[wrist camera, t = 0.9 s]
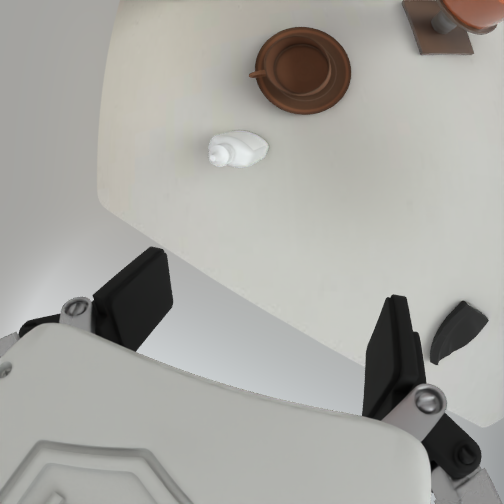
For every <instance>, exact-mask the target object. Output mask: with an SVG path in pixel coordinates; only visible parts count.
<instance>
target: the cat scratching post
mask: <svg viewBox="0 0 504 504" xmlns="http://www.w3.org/2000/svg"><path fill="white" fill-rule="evenodd" d="M402 5H403V7H404V10H405V12H406V15H407V17H408V20H409V22H410V25H411V28H412V30H413V33H414V36H415V39H416V41H417V44H418V47H419V51H420V54H421V55H437V54H456V55H472V54H474V52H473V49H472V46H471V43H470V40H469V37H468V34H467V31H468V32H470V33H473V34H480V35H482V34H487V33H489V32H491V31H493V30H494V29H495V28H496V26H497V24H496V25H494V26H492V27H490V28H488V29H476V28H473V27H470V26H468V25H466V24H465V23H463V22H462V21H460V20H459V19H458V18H456V17H455V16H454V15H453V14H452V13H451V12H450V10H449V9H448V8H447V7H446V5H445V4H444V2H443V0H403V1H402Z"/></svg>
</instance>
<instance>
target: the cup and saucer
mask: <svg viewBox="0 0 504 504" xmlns="http://www.w3.org/2000/svg"><path fill="white" fill-rule="evenodd" d="M249 77H251V78H256V80H257V83H258V85H259V88H260V90H261V91H262V93H263V94H264V96H265V97H266V98H267V99H268V100H269V101H270V102H271V103H272V104H274V105H275V106H277V107H278V108H280V109H282V110H284V111H287V112H290V113H294V114H302V115H308V114H315V113H319V112H322V111H325V110H327V109H329V108H331V107H332V106H334V105H335V104H336V103H337V102H338V101H339V100H340V99H341V98H342V97H343V96H344V94H345V93H346V91H347V89H348V86H349V83H350V79H351V66H350V61H349V58H348V56H347V54H346V52H345V50H344V49H343V47H342V46H341V45H340V44H339V43H338V42H337V41H336V40H335V39H334V38H333V37H331V36H330V35H328V34H327V33H325V32H322V31H320V30H317V29H313V28H308V27H295V28H289V29H286V30H283V31H281V32H279V33H277V34H275V35H273V36H272V37H271V38H270V39H268V40H267V41H266V42H265V44H264V45H263V46H262V48H261V49H260V51H259V53H258V56H257V59H256V64H255V72H252V73H250V74H249Z"/></svg>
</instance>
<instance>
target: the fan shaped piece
mask: <svg viewBox="0 0 504 504" xmlns="http://www.w3.org/2000/svg"><path fill="white" fill-rule="evenodd" d="M488 321H489V320H488V319H487V318H486V316H485V315H484V314H482V313H481V312H480V311H478V310H476V309H474V308H473V307H471V306H469V305H468V304H467V303H466V302H464V301H462V302H461V303H459V305H458V306H457V307H455V309H454V310H453V311H452V312H451V313H450V314H449V315H448V316H447V317H446V319H445V320H444V321H443V323H442V324H441V326H440V327H439V329H438V331H437V333H436V335H435V337H434V339H433V342H432V346H431V350H430V362H431V363H433V364H435V365H438V362H439V361H440V360H441V359H442V358H444V357H446V356H448V355H450V354H451V353H452V352H454V351H456V350H458V349H460V348H462V347H464V346H465V345H467V344H468V343H469V342H470V341H471V340H472V339H474V338H475V337H476V336H477V335H478V334H479V332H480V331H481V330H482V329H483V327H484V326H485V325H486V324H487V322H488Z"/></svg>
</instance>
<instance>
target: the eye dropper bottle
mask: <svg viewBox="0 0 504 504" xmlns="http://www.w3.org/2000/svg"><path fill="white" fill-rule="evenodd" d="M268 148H269V145H268V143H267V142H266V141H265V140H264V139H263V138H261V137H260V136H258V135H256V134H254V133H252V132H248V131H242V130H236V131H231V132H226V133H222V134H218V135H215V136H213V137H212V139H211V141H210V144H209V147H208V150H209V154H208V157H209V160H210V162H211V163H212V164H213V165H214V166H217V167H221V166H224V165H228V166H231V167H237V168H246V167H249V166H251V165H253V164H255V163H256V162H258V161H260V160H261V159H263V158H264V157H265V156H266V154H267V151H268Z"/></svg>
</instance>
